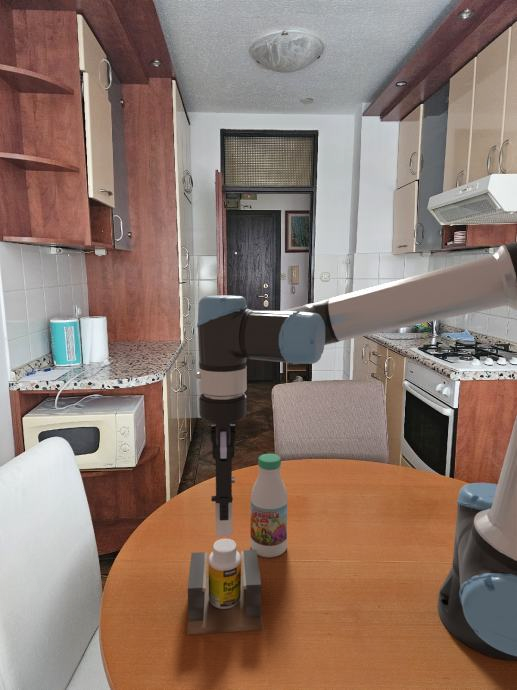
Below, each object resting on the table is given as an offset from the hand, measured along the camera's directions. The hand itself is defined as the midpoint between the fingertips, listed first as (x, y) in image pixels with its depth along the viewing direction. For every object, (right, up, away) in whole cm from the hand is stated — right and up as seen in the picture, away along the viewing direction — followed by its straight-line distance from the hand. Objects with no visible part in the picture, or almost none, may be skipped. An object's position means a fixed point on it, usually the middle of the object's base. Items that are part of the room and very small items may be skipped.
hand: (224, 527), depth 73 cm
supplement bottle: (0, -14, +2) cm, 14 cm away
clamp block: (0, -14, +2) cm, 15 cm away
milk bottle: (+8, -12, +18) cm, 23 cm away
